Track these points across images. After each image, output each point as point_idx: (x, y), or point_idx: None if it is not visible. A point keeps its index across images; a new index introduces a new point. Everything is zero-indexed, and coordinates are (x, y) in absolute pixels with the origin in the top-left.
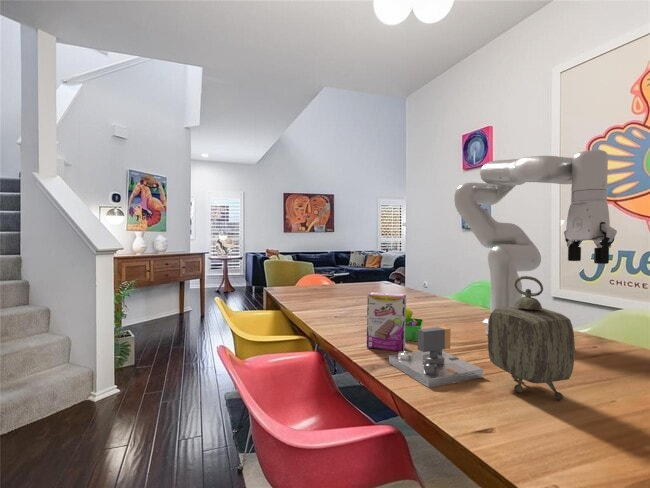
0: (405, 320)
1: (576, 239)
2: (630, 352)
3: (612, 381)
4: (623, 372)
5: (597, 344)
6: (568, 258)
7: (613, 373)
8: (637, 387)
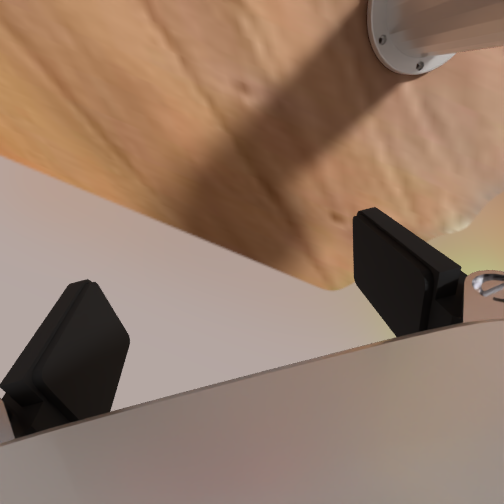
0: None
1: (257, 373)
2: (309, 264)
3: (104, 151)
4: (176, 198)
5: None
6: (374, 213)
7: (161, 176)
8: (91, 184)
